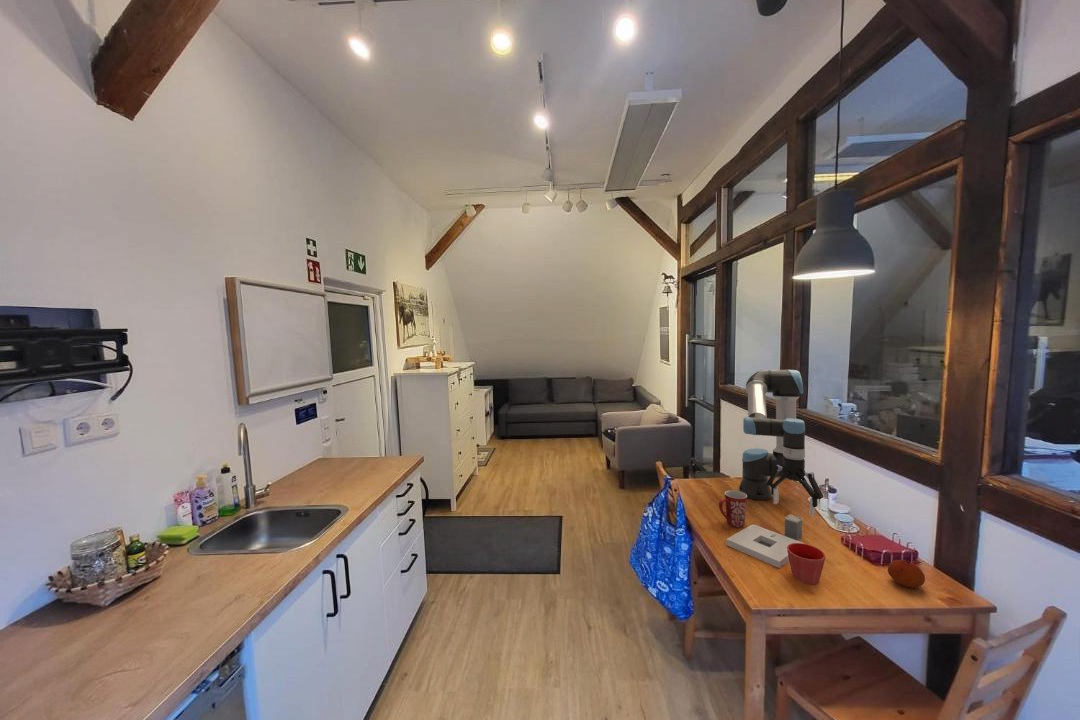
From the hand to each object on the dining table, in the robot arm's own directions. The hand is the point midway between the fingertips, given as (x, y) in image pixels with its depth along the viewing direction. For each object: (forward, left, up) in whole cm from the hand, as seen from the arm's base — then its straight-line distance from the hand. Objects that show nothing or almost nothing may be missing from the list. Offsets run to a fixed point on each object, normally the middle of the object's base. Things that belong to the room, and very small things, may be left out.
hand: (793, 508), depth 163 cm
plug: (0, 0, -12) cm, 12 cm away
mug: (+9, -21, -12) cm, 26 cm away
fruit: (+4, +36, -12) cm, 38 cm away
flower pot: (+26, +15, -12) cm, 32 cm away
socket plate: (+17, -3, -12) cm, 21 cm away
